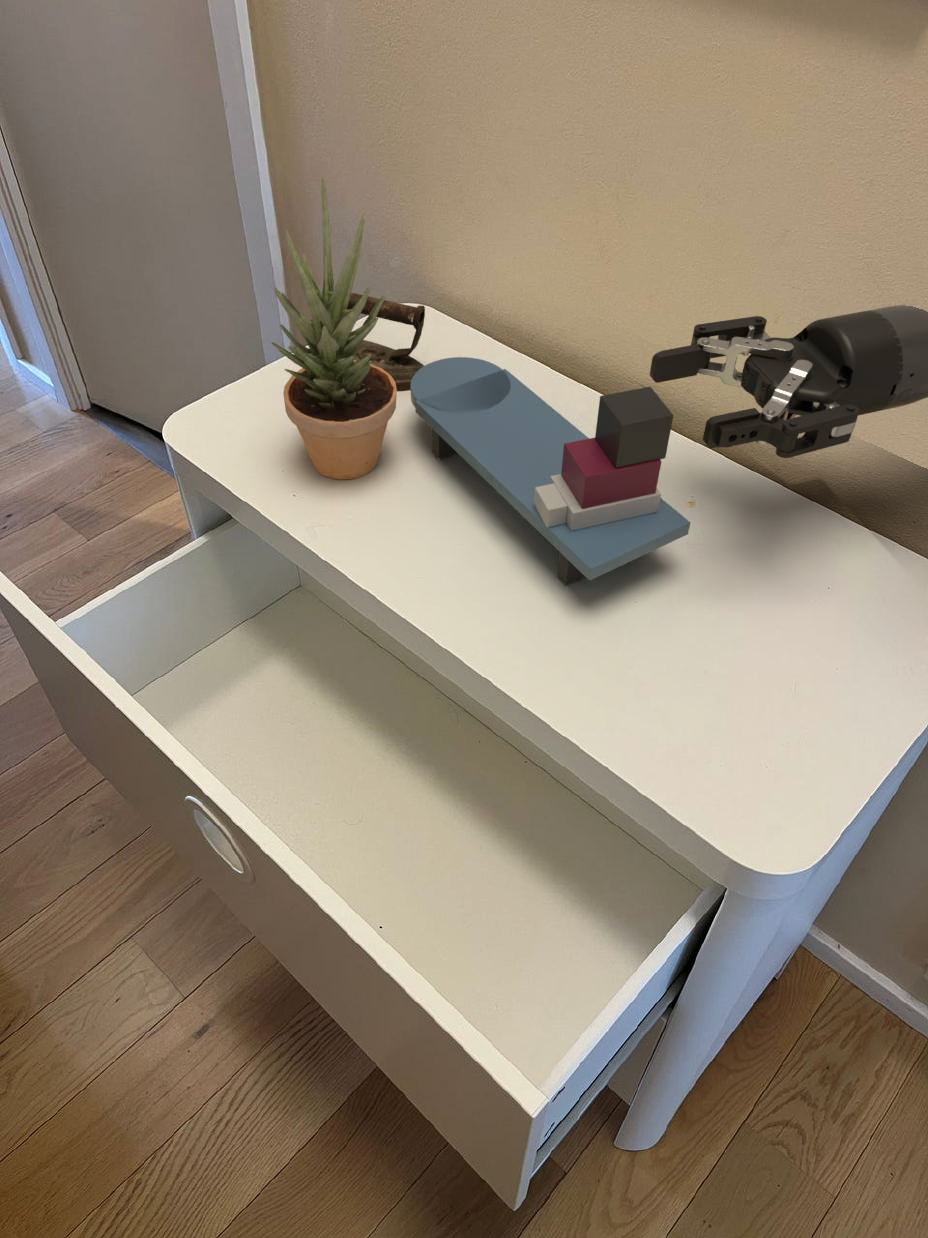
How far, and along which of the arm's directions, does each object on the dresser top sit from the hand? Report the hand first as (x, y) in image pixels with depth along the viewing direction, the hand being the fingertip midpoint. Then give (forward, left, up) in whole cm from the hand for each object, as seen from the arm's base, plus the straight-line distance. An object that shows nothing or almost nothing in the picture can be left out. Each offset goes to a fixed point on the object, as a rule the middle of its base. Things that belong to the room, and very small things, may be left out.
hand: (678, 399), depth 69 cm
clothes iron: (+33, -8, -14) cm, 36 cm away
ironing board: (+12, 0, -13) cm, 18 cm away
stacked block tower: (+3, +4, -8) cm, 10 cm away
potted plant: (+28, +5, -14) cm, 31 cm away
